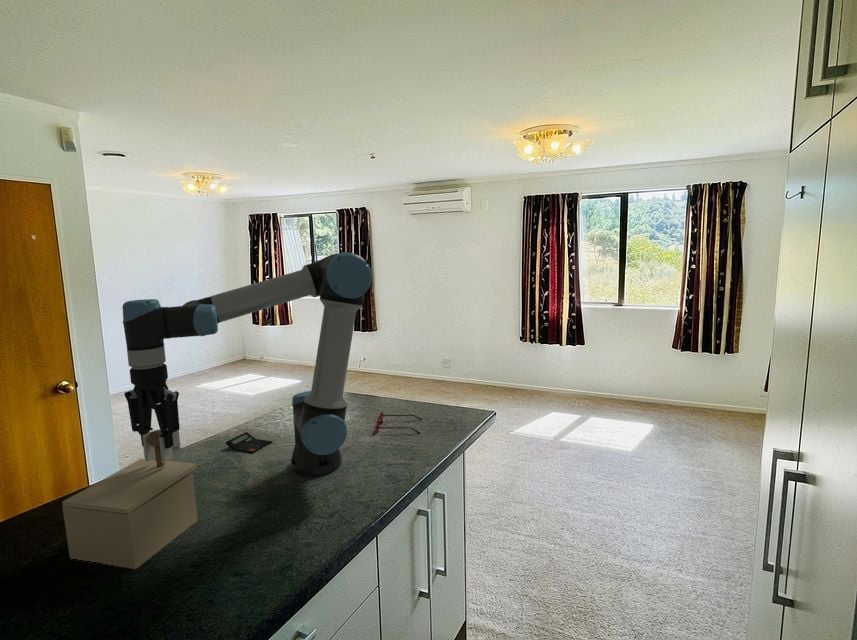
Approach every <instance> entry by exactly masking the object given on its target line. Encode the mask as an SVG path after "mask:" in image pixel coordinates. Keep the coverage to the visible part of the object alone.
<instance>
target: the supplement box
mask: <svg viewBox="0 0 857 640" xmlns="http://www.w3.org/2000/svg"><path fill="white" fill-rule="evenodd" d="M158 430H160V428H159V429H158ZM166 430H167V429H166ZM172 435H173V446H172V451H173V459H171V460H169V461H174V462H183V460H182V451H181V450H182V449H181V440H180V439H181V438H180V430H178V431H176V432H174V433H173V434H172ZM142 447H143V446H142ZM143 449H144V447H143ZM143 455H144V458H145V453H144V452H143ZM152 460H156V458H154V459H152Z"/></svg>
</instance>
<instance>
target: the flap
mask: <svg viewBox="0 0 857 640" xmlns="http://www.w3.org/2000/svg"><path fill="white" fill-rule="evenodd" d="M152 431H153V432H151V431H150V432H151V433H150V434H149V435H148V438H147V441H148V444H149V445H150V446H152V447H154V449H155V456H156V460H150V461H145V458H140V459H138V460H136V461H134V462H132V463H130V464H128V465H127V466H125V467H123V468H122V469H120V470H117V471H116V472H114V473H112V474H110V475H108V476H107V477H105V478H103V479H101V480H99V481H98V482H96V483H94V484H92V485H90V486H88V487H87V488H85V489H83V490H81V491H79V492H78V493H76V494H73V495H71V496H70V497H68V498H66V499H65V500H63V501H62V507H63V506H67V507H75V508H83V509H92V510H100V511H108V512H117V513H125V514H128V513H130V512H131V511H133V510H134V509H136V508H137V507H139V506H140V505H142V504H143V503H145V502H146V501H148V500H149V499H151V498H152V497H154V496H155V495H157V494H158V493H160V492H161V491H163V490H164V489H166V488H168V487H169V486H171V485H172V484H174V483H175V482H177V481H178V480H180V479H181V478H183V477H184V476H186V475H187V474H191V472H193V471H195V470H197V468H198V463H197V462H196V463H195V462H183V461H182V462H174V461H167V462H165V463H162V459H161V451H160V442H159V435H161V431H160V430H159V429H156V430H155V429H154V430H152Z"/></svg>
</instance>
